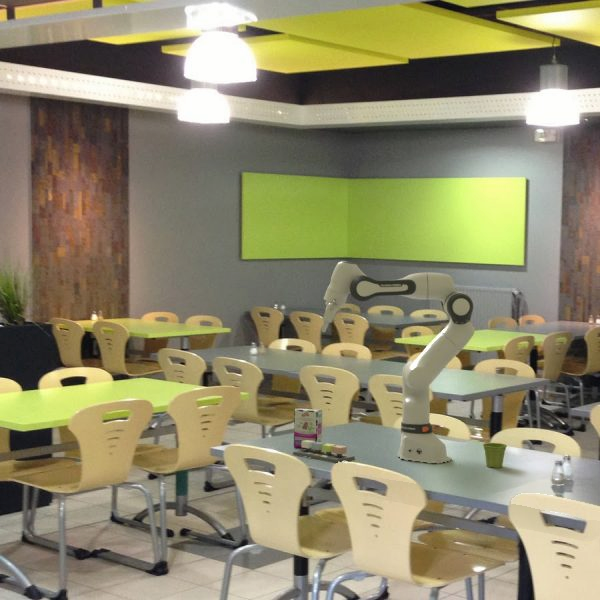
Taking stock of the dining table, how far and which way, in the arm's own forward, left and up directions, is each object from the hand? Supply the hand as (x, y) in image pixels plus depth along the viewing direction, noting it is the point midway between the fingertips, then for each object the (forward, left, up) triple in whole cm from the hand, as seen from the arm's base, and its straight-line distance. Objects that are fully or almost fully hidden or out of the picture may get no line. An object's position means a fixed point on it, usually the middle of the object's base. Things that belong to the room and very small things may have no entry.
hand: (323, 331), depth 453 cm
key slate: (-1, +2, -49) cm, 49 cm away
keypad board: (-3, +2, -51) cm, 51 cm away
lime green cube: (-6, +2, -49) cm, 49 cm away
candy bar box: (+14, -8, -51) cm, 53 cm away
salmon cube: (-12, +2, -49) cm, 50 cm away
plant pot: (-62, -32, -51) cm, 87 cm away
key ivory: (+5, +2, -49) cm, 49 cm away
